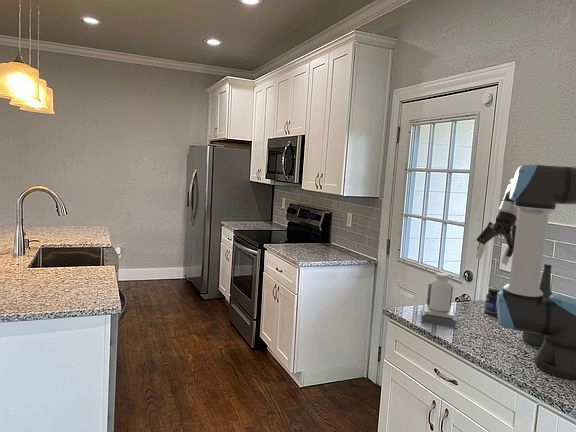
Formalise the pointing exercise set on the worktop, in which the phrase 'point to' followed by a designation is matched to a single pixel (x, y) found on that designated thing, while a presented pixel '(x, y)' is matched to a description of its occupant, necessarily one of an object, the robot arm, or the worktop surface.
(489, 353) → the worktop surface
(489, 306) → the pill bottle
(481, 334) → the worktop surface
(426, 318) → the scale
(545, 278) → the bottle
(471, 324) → the worktop surface
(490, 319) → the worktop surface
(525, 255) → the robot arm
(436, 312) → the gray flat rectangular slab
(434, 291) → the pill bottle
